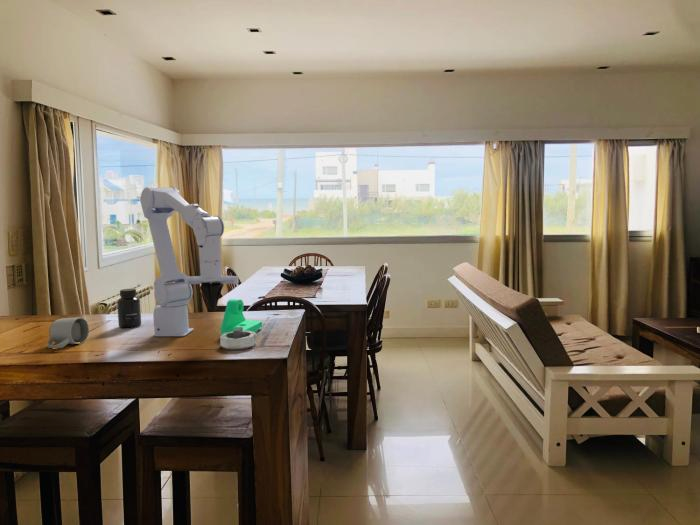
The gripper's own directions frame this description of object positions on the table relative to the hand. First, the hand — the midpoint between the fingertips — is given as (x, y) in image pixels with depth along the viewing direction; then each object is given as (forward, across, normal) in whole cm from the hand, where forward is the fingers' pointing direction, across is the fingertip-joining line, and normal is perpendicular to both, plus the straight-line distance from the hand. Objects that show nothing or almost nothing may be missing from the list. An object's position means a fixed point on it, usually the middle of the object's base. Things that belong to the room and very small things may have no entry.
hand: (213, 309), depth 151 cm
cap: (+9, +7, -1) cm, 12 cm away
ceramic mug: (+10, -43, 0) cm, 45 cm away
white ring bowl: (+10, +7, -1) cm, 12 cm away
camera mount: (+10, +4, +12) cm, 17 cm away
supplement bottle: (+10, -35, +21) cm, 42 cm away
